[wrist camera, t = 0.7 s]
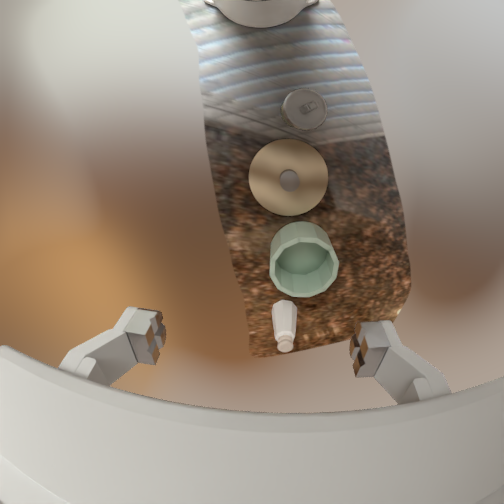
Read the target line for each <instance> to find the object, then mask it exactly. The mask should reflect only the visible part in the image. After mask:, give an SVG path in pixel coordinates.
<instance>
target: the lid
mask: <svg viewBox="0 0 504 504" xmlns="http://www.w3.org/2000/svg"><path fill="white" fill-rule="evenodd" d="M249 184H250V188H251V191H252V193H253V195H254V197H255V198H256V200H257V201H258V202H259V203H260V204H261V205H262V206H263V207H264V208H266V209H267V210H269V211H271V212H273V213H275V214H279V215H284V216H293V215H299V214H302V213H305V212H307V211H309V210H311V209H312V208H313V207H315V206H316V205H317V204H318V203H319V202H320V200H321V199H322V197H323V196H324V194H325V192H326V189H327V185H328V170H327V166H326V164H325V161H324V160H323V158H322V156H321V155H320V154H319V152H318V151H317V150H316V149H314V148H313V147H312V146H310V145H309V144H307V143H305V142H303V141H300V140H296V139H280V140H276V141H273V142H271V143H269V144H267V145H266V146H264V147H263V148H262V149H261V150H260V151H259V152H258V153H257V154H256V156H255V157H254V159H253V161H252V163H251V166H250V170H249Z"/></svg>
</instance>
